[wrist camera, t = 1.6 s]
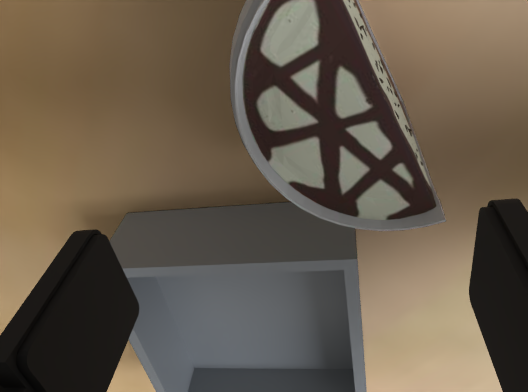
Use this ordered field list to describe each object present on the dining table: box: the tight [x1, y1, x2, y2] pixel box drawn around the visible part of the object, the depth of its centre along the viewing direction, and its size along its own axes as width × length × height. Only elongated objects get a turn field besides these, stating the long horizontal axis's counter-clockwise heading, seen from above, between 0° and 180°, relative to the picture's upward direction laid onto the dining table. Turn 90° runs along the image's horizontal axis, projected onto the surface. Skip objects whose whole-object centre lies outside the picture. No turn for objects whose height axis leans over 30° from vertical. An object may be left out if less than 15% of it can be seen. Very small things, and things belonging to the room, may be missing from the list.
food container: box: [230, 0, 446, 231], centre depth 20 cm, size 12×6×10 cm, turn 31°
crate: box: [109, 202, 367, 392], centre depth 34 cm, size 17×19×6 cm
